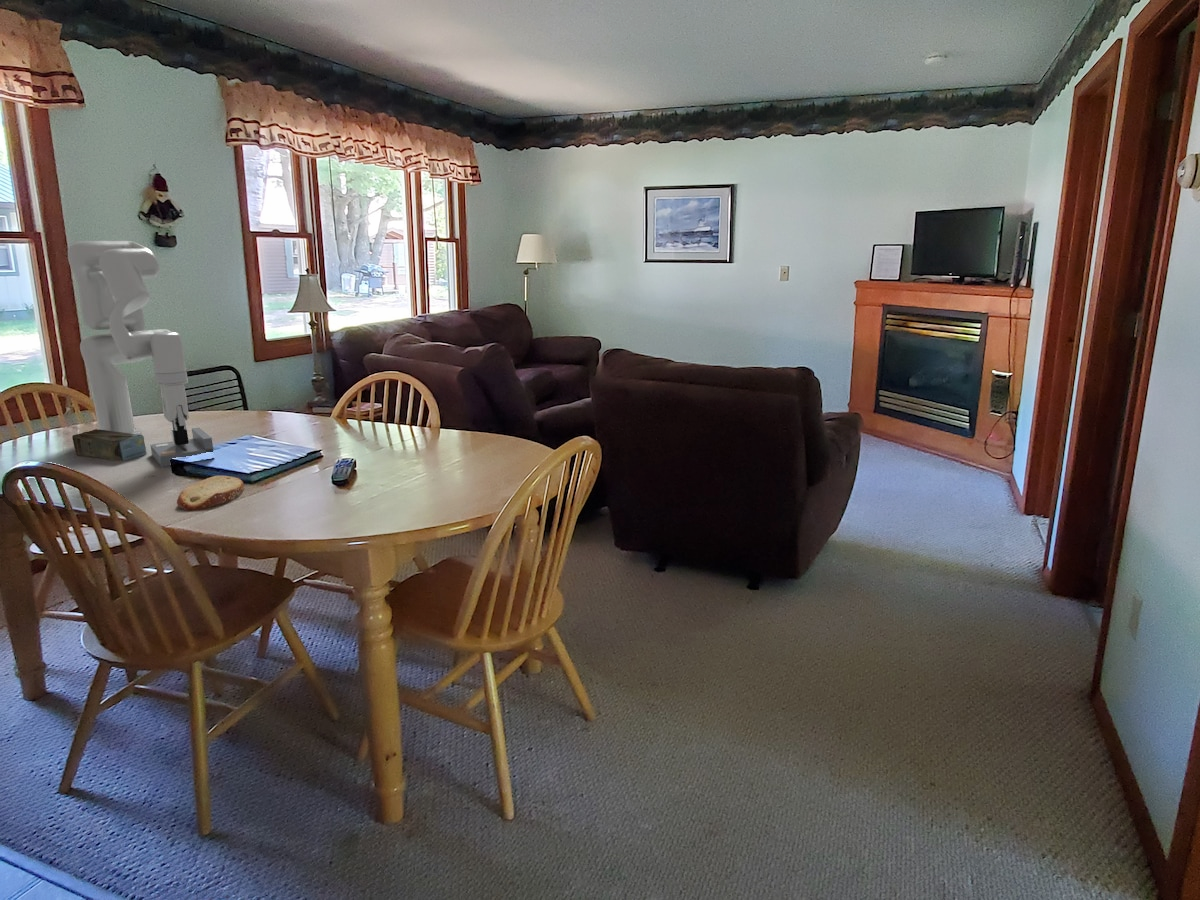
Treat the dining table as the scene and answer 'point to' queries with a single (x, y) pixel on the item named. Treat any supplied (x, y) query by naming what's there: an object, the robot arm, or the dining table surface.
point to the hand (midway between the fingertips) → (181, 443)
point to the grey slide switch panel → (182, 448)
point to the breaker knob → (173, 436)
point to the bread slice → (210, 493)
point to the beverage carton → (109, 444)
